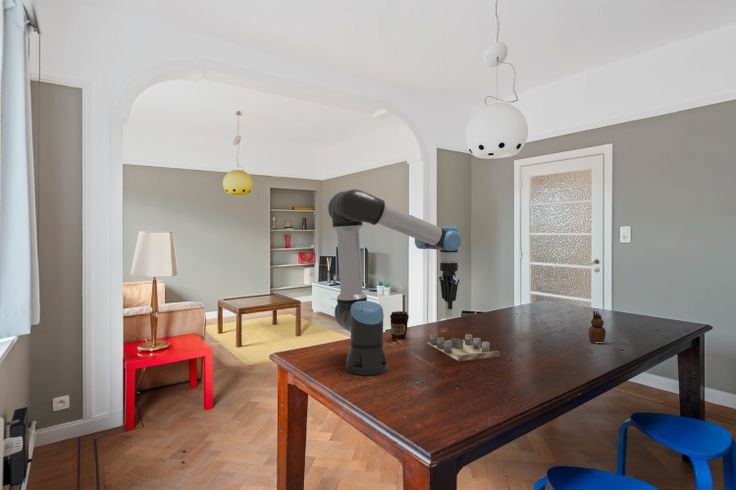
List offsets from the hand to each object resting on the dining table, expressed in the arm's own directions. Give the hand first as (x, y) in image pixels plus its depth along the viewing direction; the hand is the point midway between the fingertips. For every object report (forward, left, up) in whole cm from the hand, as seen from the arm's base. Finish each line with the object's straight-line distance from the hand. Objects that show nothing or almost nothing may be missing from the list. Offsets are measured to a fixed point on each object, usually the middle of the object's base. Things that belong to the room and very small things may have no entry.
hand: (448, 316), depth 175 cm
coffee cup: (-17, +13, -13) cm, 26 cm away
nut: (0, -8, -11) cm, 14 cm away
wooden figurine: (+67, -17, -13) cm, 70 cm away
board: (0, -11, -13) cm, 17 cm away
